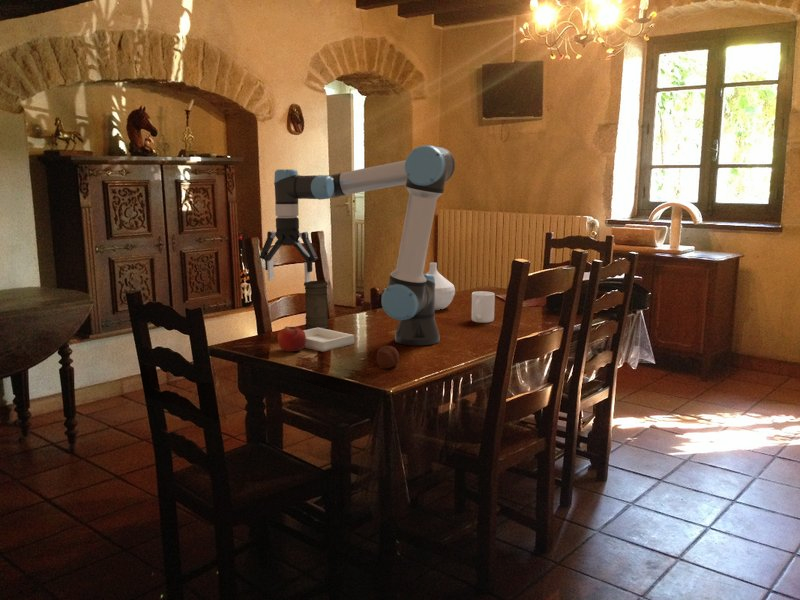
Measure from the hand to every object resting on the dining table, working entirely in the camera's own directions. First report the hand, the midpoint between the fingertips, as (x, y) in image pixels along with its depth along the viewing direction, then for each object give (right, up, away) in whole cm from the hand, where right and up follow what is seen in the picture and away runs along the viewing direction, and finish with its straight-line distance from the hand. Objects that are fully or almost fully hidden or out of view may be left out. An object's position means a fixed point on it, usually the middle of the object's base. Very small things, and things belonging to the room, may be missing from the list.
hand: (289, 281), depth 235 cm
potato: (+33, -26, -28) cm, 51 cm away
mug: (+68, -15, +34) cm, 77 cm away
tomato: (+2, -23, -10) cm, 25 cm away
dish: (+10, -21, 0) cm, 23 cm away
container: (+7, -18, +17) cm, 26 cm away
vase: (+51, -10, +61) cm, 80 cm away
